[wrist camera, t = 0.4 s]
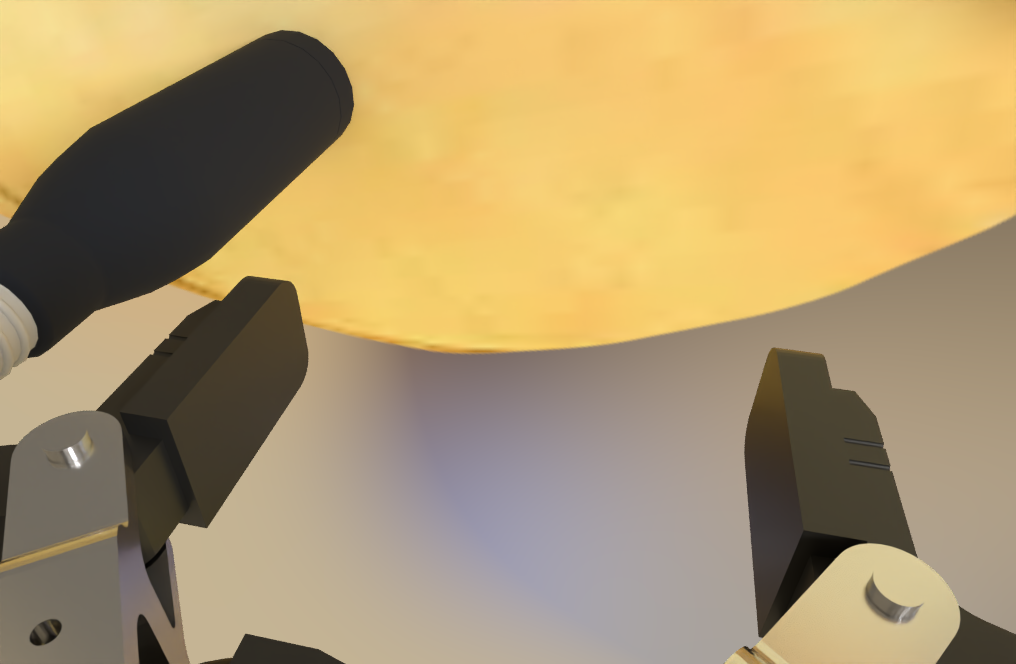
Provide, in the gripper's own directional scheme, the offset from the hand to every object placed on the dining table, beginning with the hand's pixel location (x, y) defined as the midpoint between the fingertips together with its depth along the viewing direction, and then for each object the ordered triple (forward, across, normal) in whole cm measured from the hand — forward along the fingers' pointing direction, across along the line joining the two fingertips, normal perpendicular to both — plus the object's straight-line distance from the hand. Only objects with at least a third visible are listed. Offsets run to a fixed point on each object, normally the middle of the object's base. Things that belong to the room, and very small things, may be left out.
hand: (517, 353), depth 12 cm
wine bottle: (+28, +18, +6) cm, 33 cm away
